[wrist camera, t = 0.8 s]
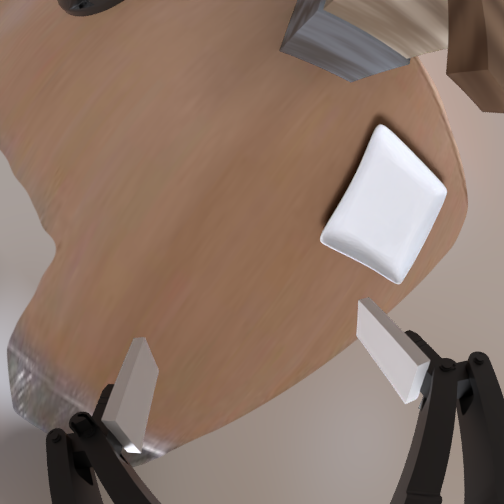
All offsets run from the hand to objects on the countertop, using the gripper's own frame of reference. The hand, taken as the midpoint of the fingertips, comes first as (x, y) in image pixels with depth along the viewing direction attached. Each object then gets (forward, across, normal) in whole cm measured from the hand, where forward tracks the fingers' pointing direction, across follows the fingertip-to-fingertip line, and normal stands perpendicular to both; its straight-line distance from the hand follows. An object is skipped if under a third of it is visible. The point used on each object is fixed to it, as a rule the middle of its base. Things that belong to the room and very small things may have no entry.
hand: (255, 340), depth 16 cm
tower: (+25, +19, +32) cm, 45 cm away
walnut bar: (-3, +19, +26) cm, 33 cm away
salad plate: (+28, +26, 0) cm, 38 cm away
